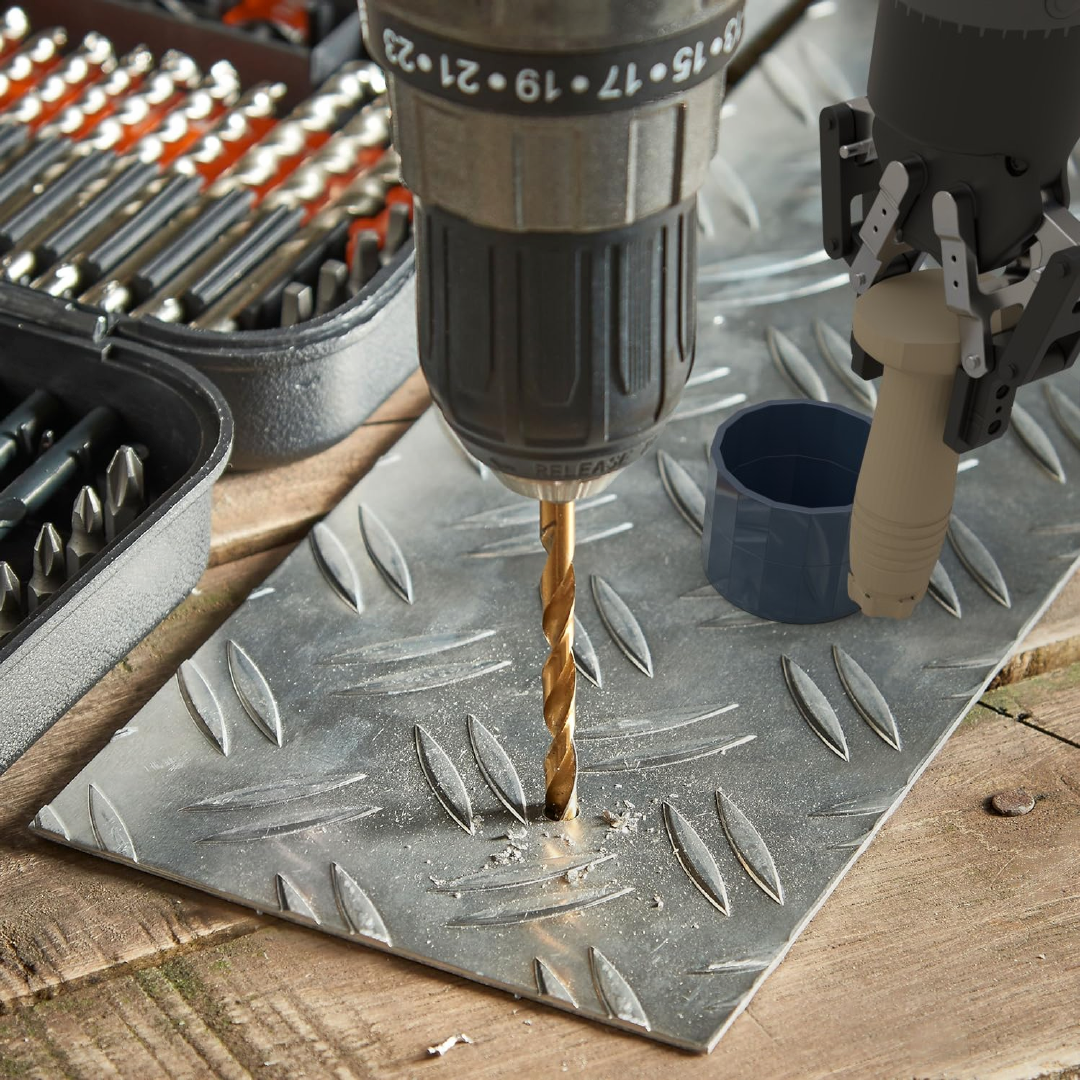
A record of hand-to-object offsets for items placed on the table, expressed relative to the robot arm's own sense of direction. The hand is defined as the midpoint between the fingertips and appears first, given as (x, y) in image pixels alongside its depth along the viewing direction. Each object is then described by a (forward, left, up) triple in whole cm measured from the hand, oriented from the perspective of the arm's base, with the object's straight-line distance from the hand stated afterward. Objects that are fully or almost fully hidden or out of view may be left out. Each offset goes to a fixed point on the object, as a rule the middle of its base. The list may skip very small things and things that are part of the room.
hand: (921, 404), depth 60 cm
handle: (0, 0, -11) cm, 11 cm away
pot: (-8, -16, -24) cm, 30 cm away
